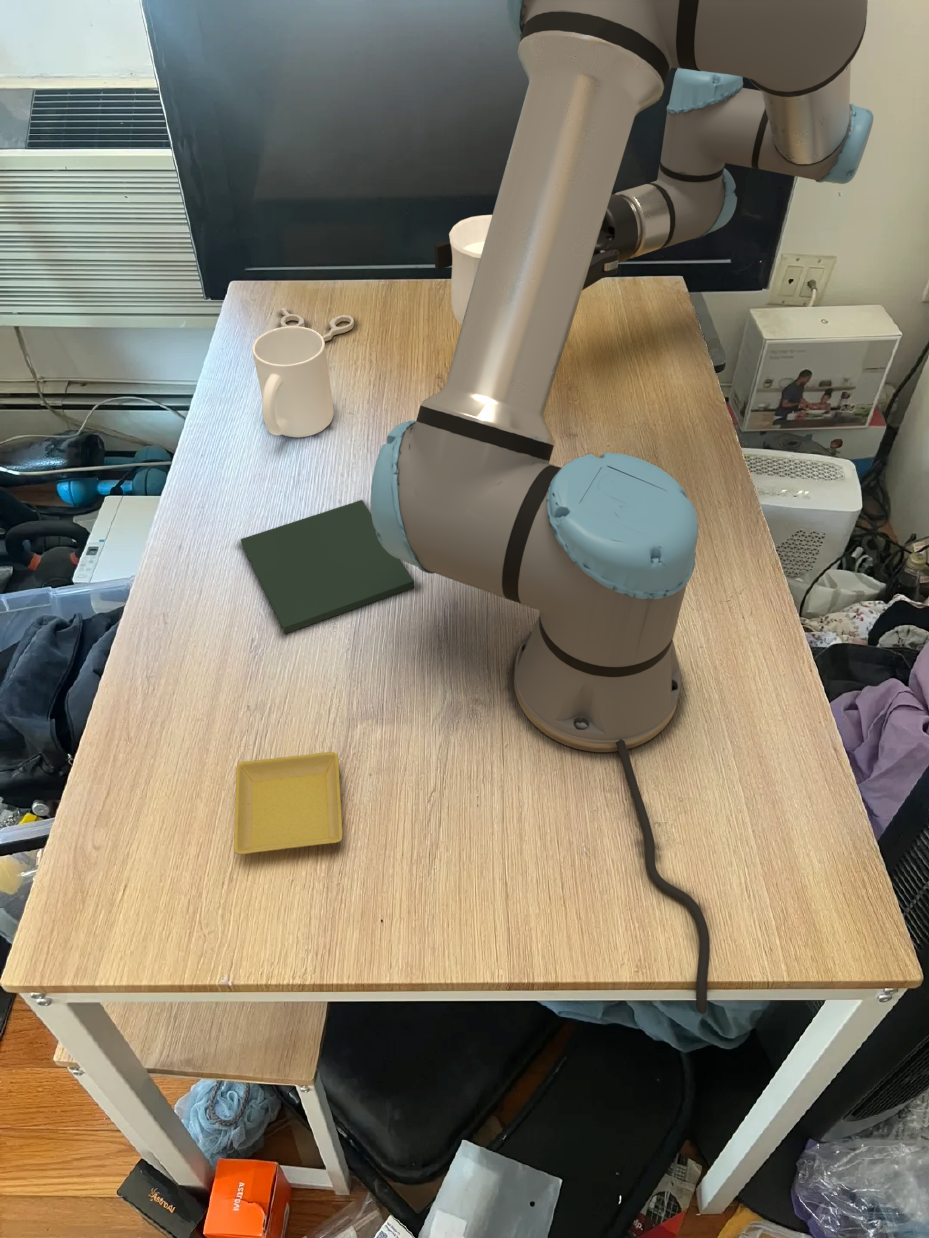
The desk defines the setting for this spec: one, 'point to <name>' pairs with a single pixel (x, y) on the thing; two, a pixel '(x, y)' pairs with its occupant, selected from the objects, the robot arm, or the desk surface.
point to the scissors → (332, 324)
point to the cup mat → (324, 566)
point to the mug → (293, 381)
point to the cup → (466, 259)
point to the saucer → (287, 803)
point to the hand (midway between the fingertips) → (460, 277)
